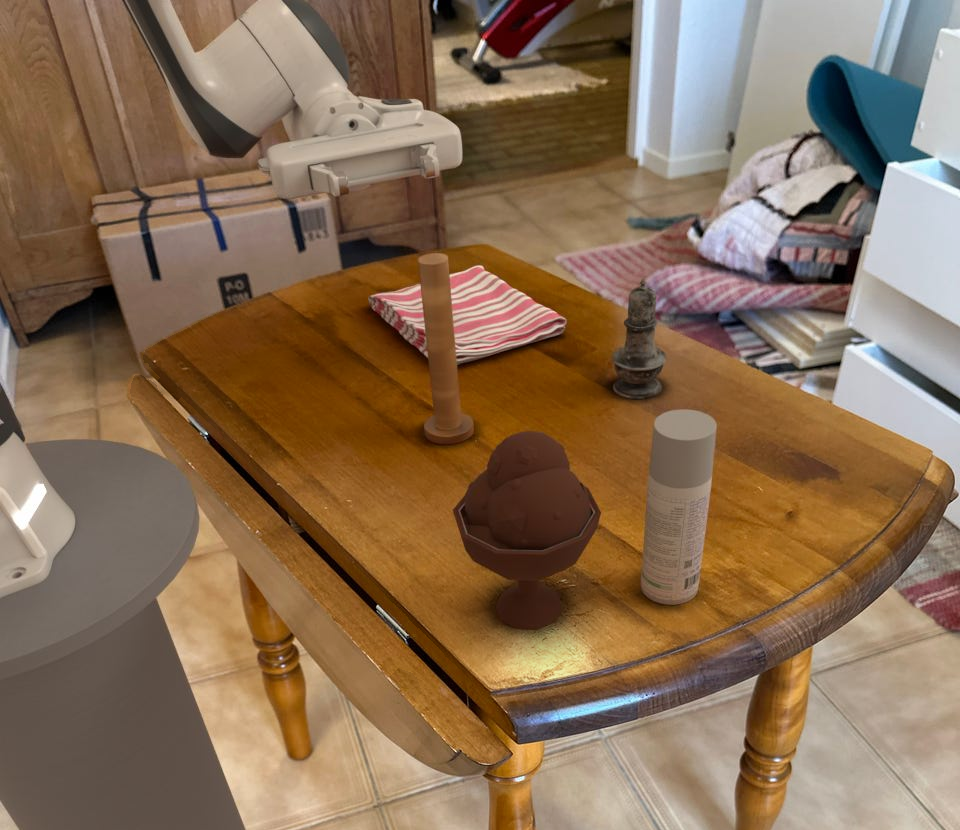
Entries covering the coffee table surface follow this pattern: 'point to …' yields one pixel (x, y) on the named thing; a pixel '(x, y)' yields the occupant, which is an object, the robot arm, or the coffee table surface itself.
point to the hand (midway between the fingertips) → (387, 178)
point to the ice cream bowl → (527, 524)
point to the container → (677, 505)
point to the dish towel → (473, 315)
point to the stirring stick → (441, 353)
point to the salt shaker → (639, 348)
